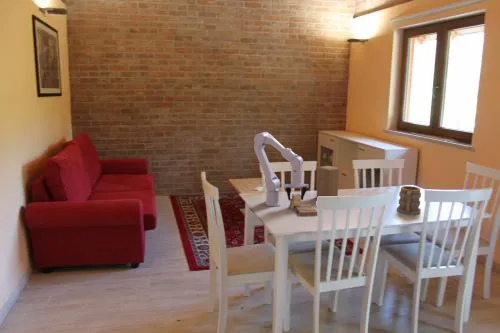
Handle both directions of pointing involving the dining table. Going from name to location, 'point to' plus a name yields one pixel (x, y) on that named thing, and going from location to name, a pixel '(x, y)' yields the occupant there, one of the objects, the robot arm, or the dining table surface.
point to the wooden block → (327, 181)
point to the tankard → (409, 200)
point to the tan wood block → (295, 200)
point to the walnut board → (305, 209)
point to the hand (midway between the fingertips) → (295, 199)
